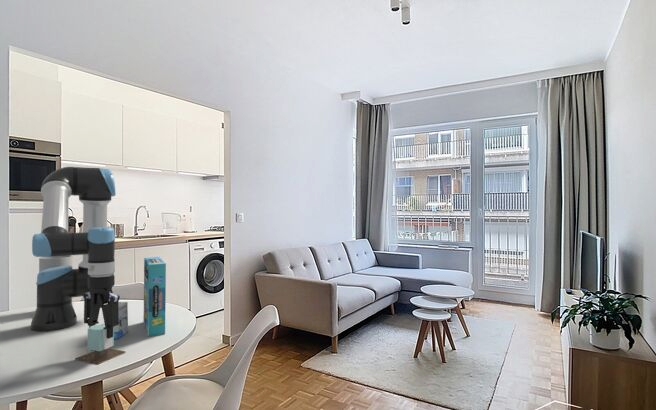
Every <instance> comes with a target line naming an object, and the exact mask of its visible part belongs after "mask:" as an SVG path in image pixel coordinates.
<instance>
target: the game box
mask: <svg viewBox="0 0 656 410" xmlns="http://www.w3.org/2000/svg"><path fill="white" fill-rule="evenodd" d="M143 262H144V263H143V266H144V267H143V324H144V328H145V331H146V335H147V337H155V336H161V335H165V334H166V288H167V284H166V283H167V280H166V279H167V277H166V276H167V269H166V268H167V264H166V262H165V261H164V260H163V259H162V258H161V257H160V256H151V257H144V258H143Z"/></svg>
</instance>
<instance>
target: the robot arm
mask: <svg viewBox="0 0 656 410" xmlns="http://www.w3.org/2000/svg"><path fill="white" fill-rule="evenodd" d="M115 183H116V182H115V178H114V174H113V172H112V170H111V169H109V168H101V167H80V166H78V167H77V166H64V167H60V168H57V169H56V170H54V171H52V172H51V173H49V174H48V175H47V176H46V177H45V179H44V180H43V182H42V184H41V186H40V187H41V188H40V193H41V196H42V197H43V204H42V205H43V206H42V217H41V218H42V219H41V231H40V233H35V234H34V235H32V239H31V240H32V241H31V242H32V243H31V249H32V250H31V251H32V252H31V253H32V256H34V257H35V258H40V257H53V256H67V255H72V256H82V260H81V262H79V263H78V267H77V268H73V269H72V266H60V267H54V268H50V269H46V270H43V271H41V272H39V271H38V273H37V276H36V282H35V284H36V309H35V312H34V314H33V317H32V319H31V323H30V329H31V330H32V331H37V332H42V331H43V332H44V331H45V332H49V331H54V330H60V329H64V328H68V327H72V326H74V325H75V324H76V323H77V321H78V320H77V319H78V317H77V314H76V312H75V309H74V305H73V298H81V297H83V323H84V324H87V326H88V328H91V327H94V326H97V325H100V322H99V316H100V315H99V314H100V310H101V312H102V316H103V324H105V327H104V328H103V349H107V348H110V349H111V348H112V347H113V346H112V337H113V327H114V326H117V325H118V324H119V305H118V302H120V294H114V292H113V287H114V286H115V279H116V277H115V276H116V275H115V272H116V262H115V252H116V251H115V249H116V248H115V247H116V246H115V245H116V241H115V240H116V235H115V234H116V232H115V229H114V227H108V204H109V203H111V201H112V197H115V196H116V193H117V192H116V184H115ZM71 196H76V197H77V196H78V200H79V202H80V203H81V204H82V205H83V206H82V213H83V214H82V232H69V198H70V197H71Z"/></svg>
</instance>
